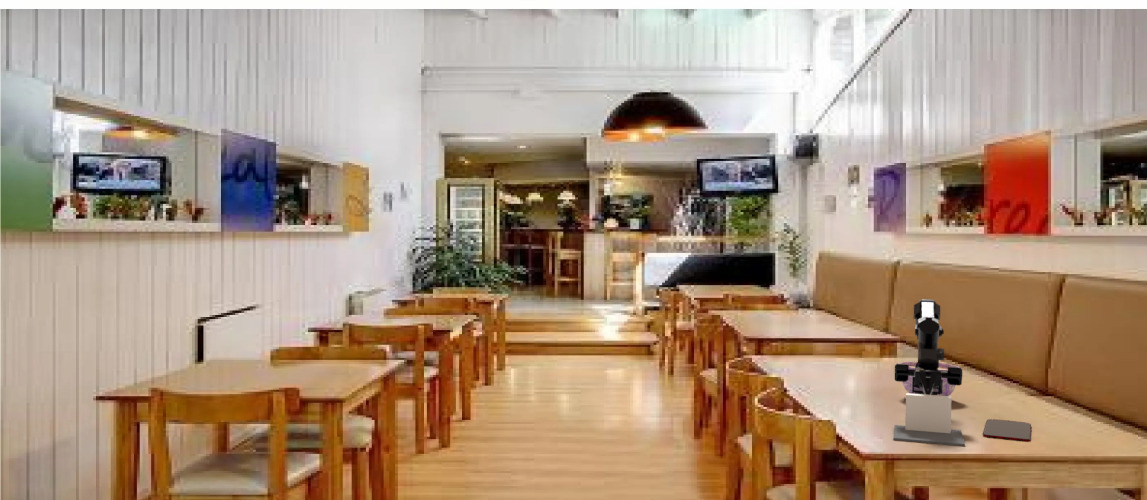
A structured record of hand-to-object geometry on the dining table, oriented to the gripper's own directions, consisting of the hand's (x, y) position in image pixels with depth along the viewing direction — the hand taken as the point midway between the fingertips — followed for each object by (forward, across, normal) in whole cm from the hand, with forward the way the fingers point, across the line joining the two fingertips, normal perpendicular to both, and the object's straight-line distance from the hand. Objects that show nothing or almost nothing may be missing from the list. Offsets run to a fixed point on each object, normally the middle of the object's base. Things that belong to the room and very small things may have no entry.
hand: (927, 397), depth 264 cm
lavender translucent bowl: (-32, +1, +45) cm, 55 cm away
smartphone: (+3, +22, +11) cm, 24 cm away
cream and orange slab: (+11, 0, +1) cm, 11 cm away
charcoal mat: (+15, 0, -2) cm, 15 cm away
